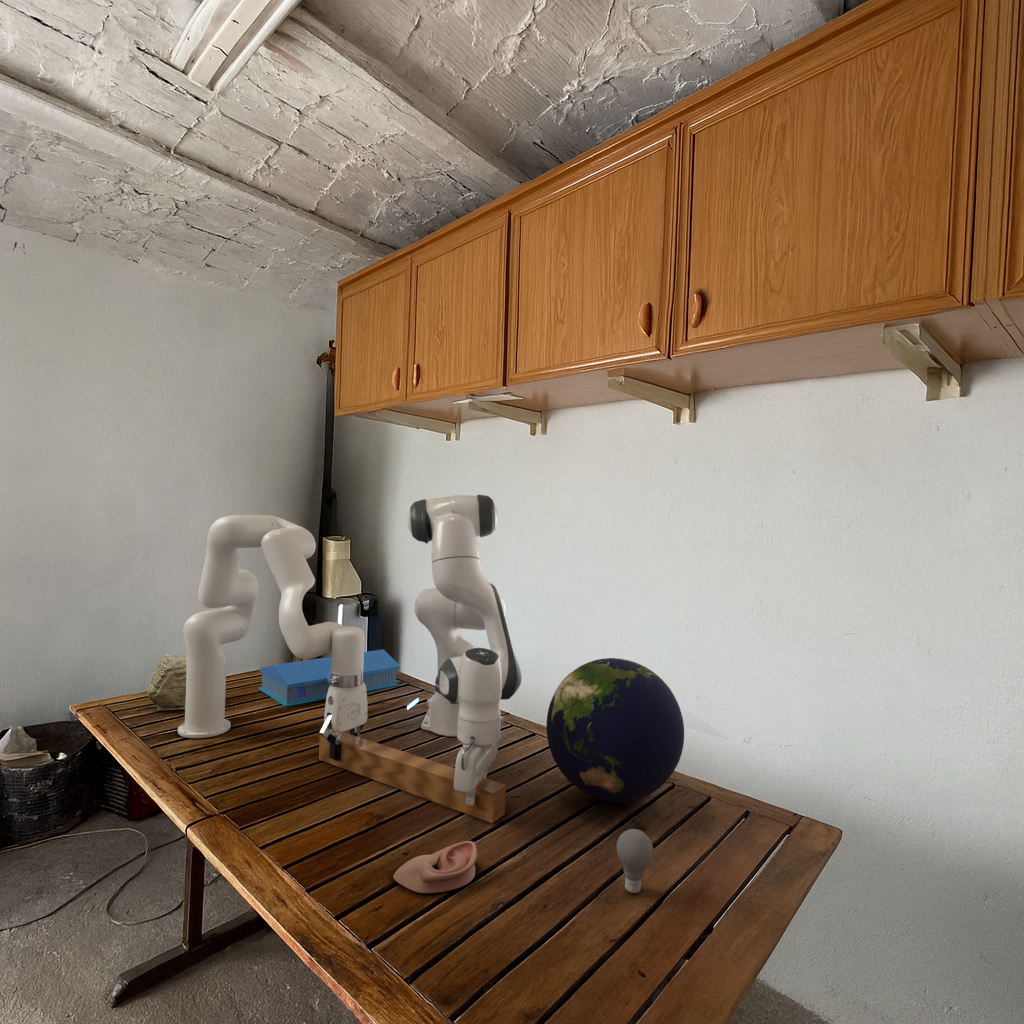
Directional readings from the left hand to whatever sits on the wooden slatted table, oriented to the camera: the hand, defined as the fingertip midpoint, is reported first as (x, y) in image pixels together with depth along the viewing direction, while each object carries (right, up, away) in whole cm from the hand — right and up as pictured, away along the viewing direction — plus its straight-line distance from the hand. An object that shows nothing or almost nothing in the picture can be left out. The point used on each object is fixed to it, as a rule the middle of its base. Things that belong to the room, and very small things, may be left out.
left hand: (343, 754), depth 151 cm
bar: (+16, -3, -10) cm, 19 cm away
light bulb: (+60, -5, -45) cm, 76 cm away
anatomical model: (+27, -4, -43) cm, 51 cm away
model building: (-19, 0, +57) cm, 60 cm away
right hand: (+33, -1, -20) cm, 38 cm away
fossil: (-56, +1, +34) cm, 65 cm away
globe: (+62, -5, -11) cm, 63 cm away
